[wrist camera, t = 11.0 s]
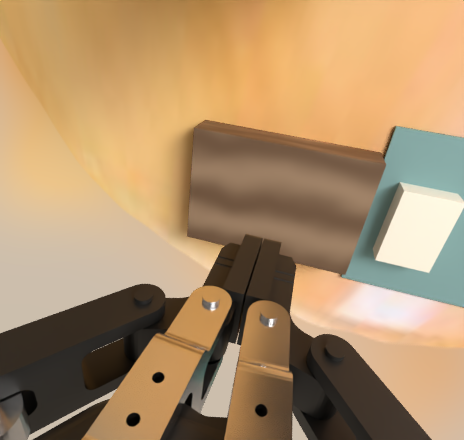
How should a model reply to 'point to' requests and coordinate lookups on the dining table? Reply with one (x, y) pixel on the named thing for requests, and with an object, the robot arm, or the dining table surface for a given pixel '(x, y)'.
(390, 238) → the tile
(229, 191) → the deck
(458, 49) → the dining table surface
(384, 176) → the mat
